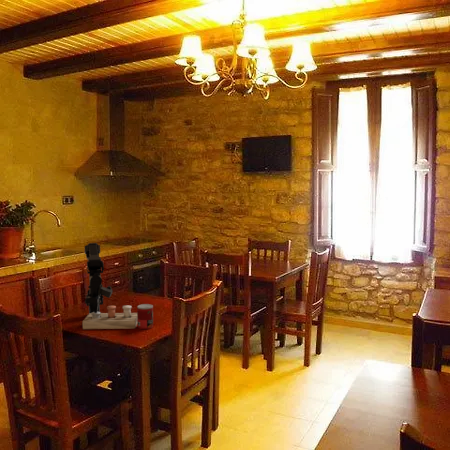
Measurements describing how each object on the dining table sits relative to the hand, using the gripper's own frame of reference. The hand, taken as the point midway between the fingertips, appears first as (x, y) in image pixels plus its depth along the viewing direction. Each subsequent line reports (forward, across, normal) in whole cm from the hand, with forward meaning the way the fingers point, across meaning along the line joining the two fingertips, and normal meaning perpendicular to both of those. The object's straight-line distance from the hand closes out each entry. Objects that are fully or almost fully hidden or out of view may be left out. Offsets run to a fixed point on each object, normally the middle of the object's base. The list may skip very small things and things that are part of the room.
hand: (95, 312), depth 234 cm
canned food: (+6, -5, -26) cm, 27 cm away
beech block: (+6, 0, -8) cm, 10 cm away
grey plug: (+6, 0, 0) cm, 6 cm away
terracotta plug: (+3, 0, -8) cm, 8 cm away
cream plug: (+3, 0, -16) cm, 16 cm away
